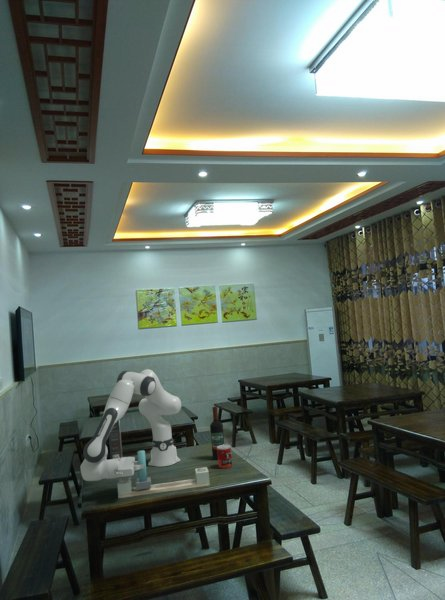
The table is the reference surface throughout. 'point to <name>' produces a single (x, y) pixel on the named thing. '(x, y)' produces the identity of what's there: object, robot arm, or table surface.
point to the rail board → (163, 485)
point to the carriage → (142, 473)
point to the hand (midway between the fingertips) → (143, 464)
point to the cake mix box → (115, 441)
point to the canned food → (224, 456)
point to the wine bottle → (216, 433)
